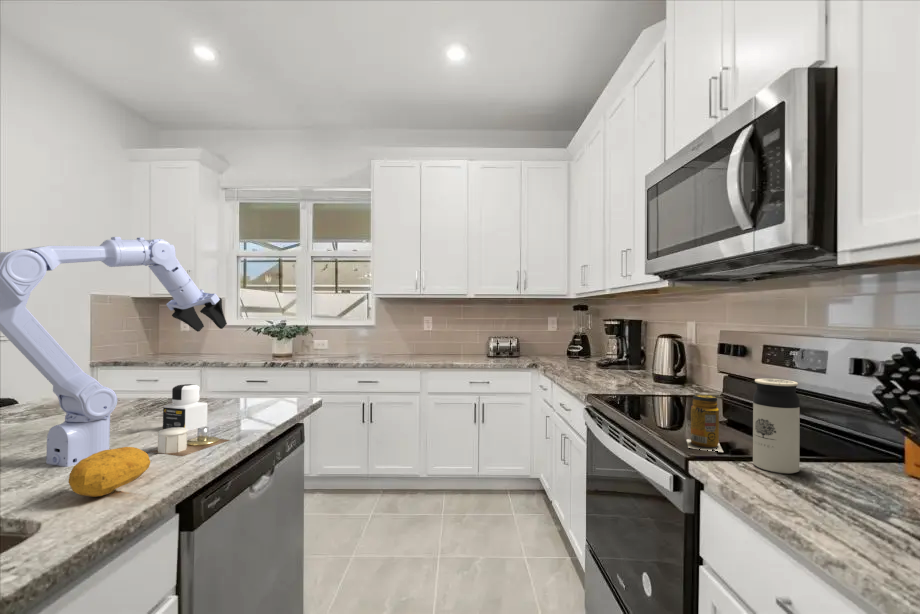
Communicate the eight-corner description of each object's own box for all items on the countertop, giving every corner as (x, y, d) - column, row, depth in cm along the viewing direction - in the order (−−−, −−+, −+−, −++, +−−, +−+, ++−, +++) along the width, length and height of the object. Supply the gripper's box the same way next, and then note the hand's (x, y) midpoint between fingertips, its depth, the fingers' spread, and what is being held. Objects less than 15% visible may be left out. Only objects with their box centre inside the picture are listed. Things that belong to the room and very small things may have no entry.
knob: (202, 447, 102) (202, 432, 102) (179, 444, 104) (179, 430, 104) (225, 439, 108) (225, 425, 108) (203, 437, 110) (203, 423, 110)
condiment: (719, 443, 115) (719, 394, 115) (723, 453, 107) (723, 400, 107) (686, 440, 118) (686, 392, 118) (688, 449, 110) (688, 397, 110)
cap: (171, 454, 97) (171, 434, 97) (151, 451, 98) (151, 432, 98) (193, 447, 102) (193, 428, 102) (174, 445, 103) (174, 426, 103)
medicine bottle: (161, 434, 117) (162, 386, 117) (186, 427, 123) (187, 382, 124) (184, 436, 115) (185, 388, 115) (207, 430, 121) (208, 383, 122)
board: (181, 462, 96) (182, 456, 96) (148, 457, 98) (148, 451, 98) (230, 445, 108) (230, 439, 108) (199, 441, 111) (200, 436, 111)
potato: (50, 505, 74) (51, 462, 74) (124, 475, 88) (125, 439, 88) (94, 508, 73) (95, 465, 73) (161, 477, 87) (162, 441, 87)
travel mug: (776, 461, 101) (777, 378, 101) (809, 473, 93) (809, 383, 94) (743, 462, 100) (744, 378, 100) (774, 475, 92) (774, 384, 92)
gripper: (212, 271, 112) (243, 314, 119) (168, 278, 117) (200, 320, 124) (194, 288, 106) (227, 333, 114) (148, 295, 111) (183, 338, 119)
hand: (212, 327), depth 119 cm, fingers open, 7 cm apart
